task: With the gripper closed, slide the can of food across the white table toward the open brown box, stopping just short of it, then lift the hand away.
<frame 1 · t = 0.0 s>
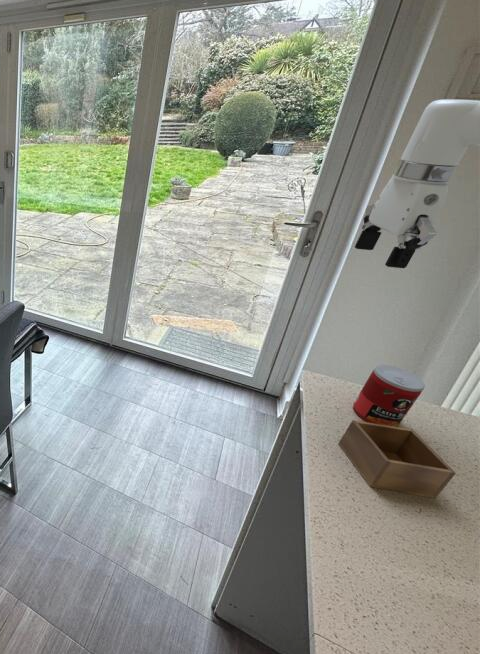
hand: (378, 257, 83), 33 cm above the countertop, tool pointing down, fingers open, 9 cm apart
box: (383, 469, 77), on the countertop
canned food: (373, 416, 89), on the countertop
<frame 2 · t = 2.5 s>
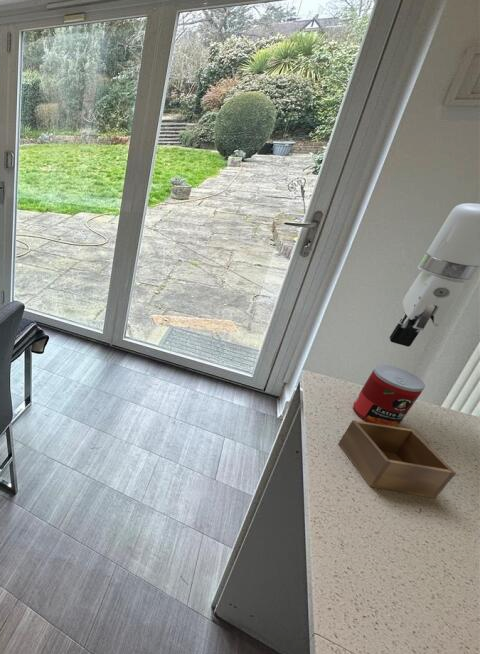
hand: (399, 342, 89), 14 cm above the countertop, tool pointing down, fingers closed
nothing on the countertop moved.
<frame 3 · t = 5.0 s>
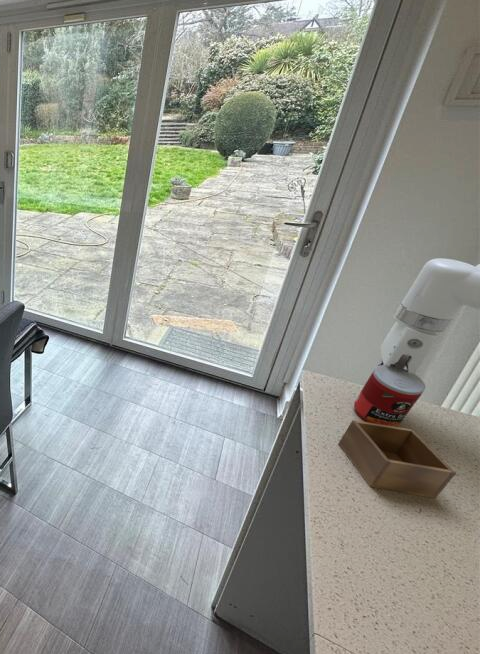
hand: (377, 386, 92), 4 cm above the countertop, tool pointing down, fingers closed
canned food: (374, 414, 89), on the countertop, touching gripper
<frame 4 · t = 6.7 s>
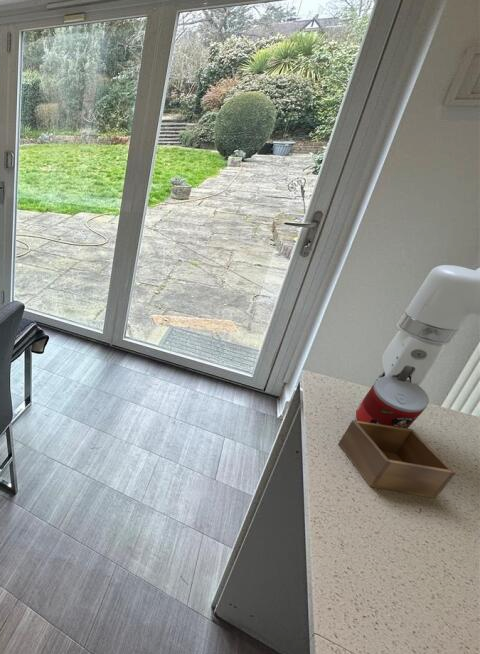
hand: (377, 398, 88), 4 cm above the countertop, tool pointing down, fingers closed
canned food: (377, 422, 86), point 1 cm above the countertop, touching gripper
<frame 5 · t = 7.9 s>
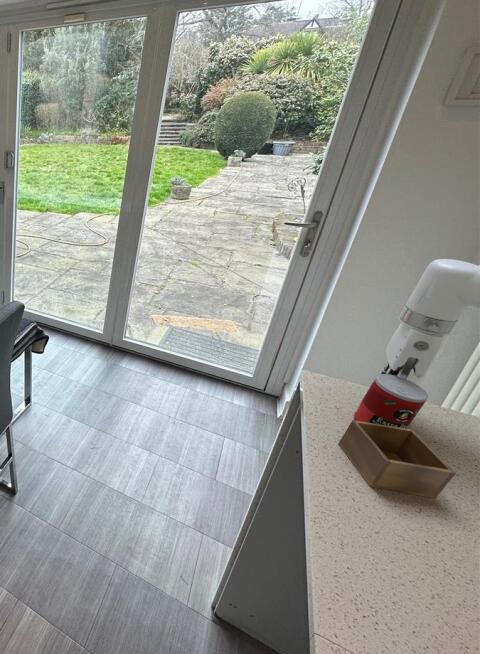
hand: (383, 390, 90), 4 cm above the countertop, tool pointing down, fingers closed
canned food: (375, 427, 87), on the countertop
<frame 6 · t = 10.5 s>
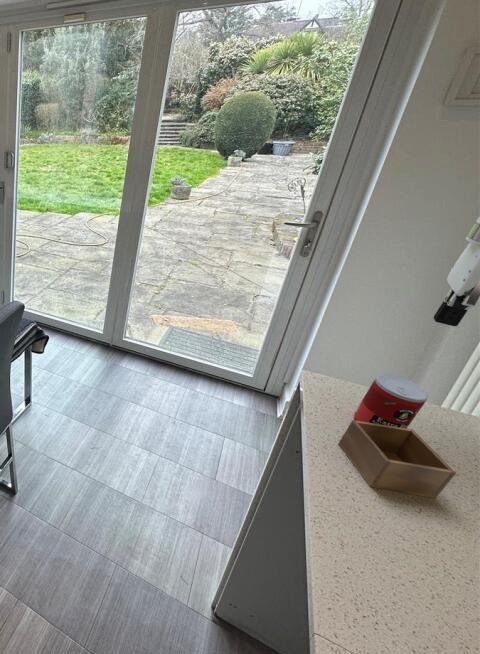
hand: (444, 322, 83), 22 cm above the countertop, tool pointing down, fingers closed
nothing on the countertop moved.
at the end: canned food 13.7 cm from the box (horizontally); canned food moved 4.0 cm from its start; canned food tilted 0° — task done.
